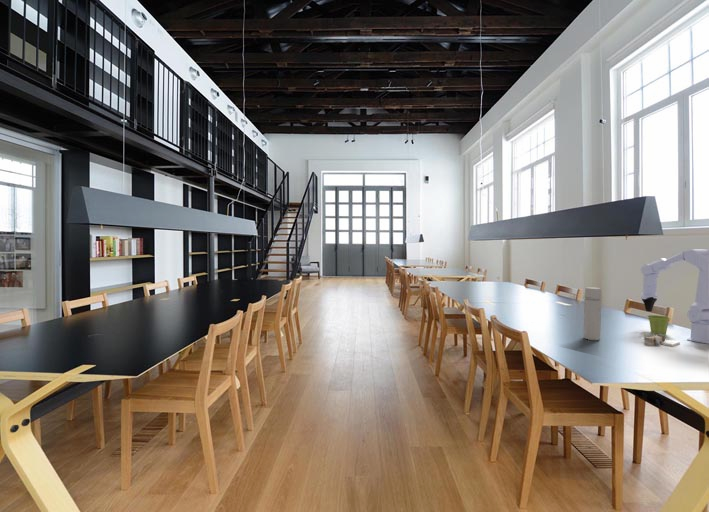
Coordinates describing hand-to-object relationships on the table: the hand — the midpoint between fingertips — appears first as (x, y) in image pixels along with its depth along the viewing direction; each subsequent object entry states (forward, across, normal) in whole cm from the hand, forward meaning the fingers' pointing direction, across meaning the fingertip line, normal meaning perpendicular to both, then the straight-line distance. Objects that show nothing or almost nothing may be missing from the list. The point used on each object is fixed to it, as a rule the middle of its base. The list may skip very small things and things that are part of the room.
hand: (648, 311), depth 212 cm
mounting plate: (+9, +28, +20) cm, 36 cm away
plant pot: (+10, +9, +8) cm, 15 cm away
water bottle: (+10, +49, -5) cm, 50 cm away
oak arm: (+9, +32, +15) cm, 37 cm away
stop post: (+9, +35, +17) cm, 40 cm away
